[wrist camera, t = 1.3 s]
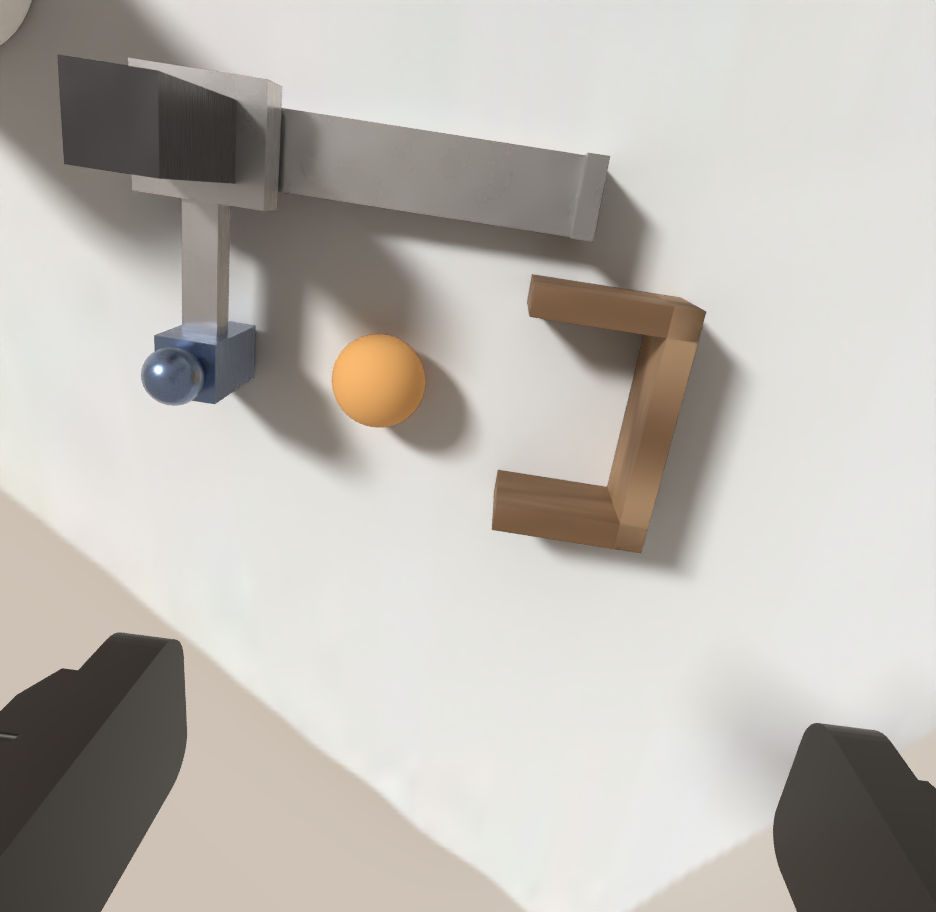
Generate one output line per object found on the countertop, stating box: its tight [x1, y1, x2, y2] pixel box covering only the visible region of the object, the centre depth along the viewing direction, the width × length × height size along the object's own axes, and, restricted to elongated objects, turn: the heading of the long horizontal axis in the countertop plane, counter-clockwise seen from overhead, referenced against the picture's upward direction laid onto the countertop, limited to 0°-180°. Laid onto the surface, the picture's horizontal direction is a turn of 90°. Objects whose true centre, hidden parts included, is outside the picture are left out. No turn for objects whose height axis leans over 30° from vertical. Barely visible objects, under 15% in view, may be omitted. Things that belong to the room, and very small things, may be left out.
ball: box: [332, 334, 426, 427], centre depth 29 cm, size 4×4×4 cm
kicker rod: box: [58, 55, 282, 406], centre depth 25 cm, size 12×5×9 cm, turn 172°
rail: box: [278, 108, 610, 242], centre depth 27 cm, size 3×19×3 cm, turn 81°
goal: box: [492, 274, 706, 553], centre depth 29 cm, size 10×6×4 cm, turn 172°
